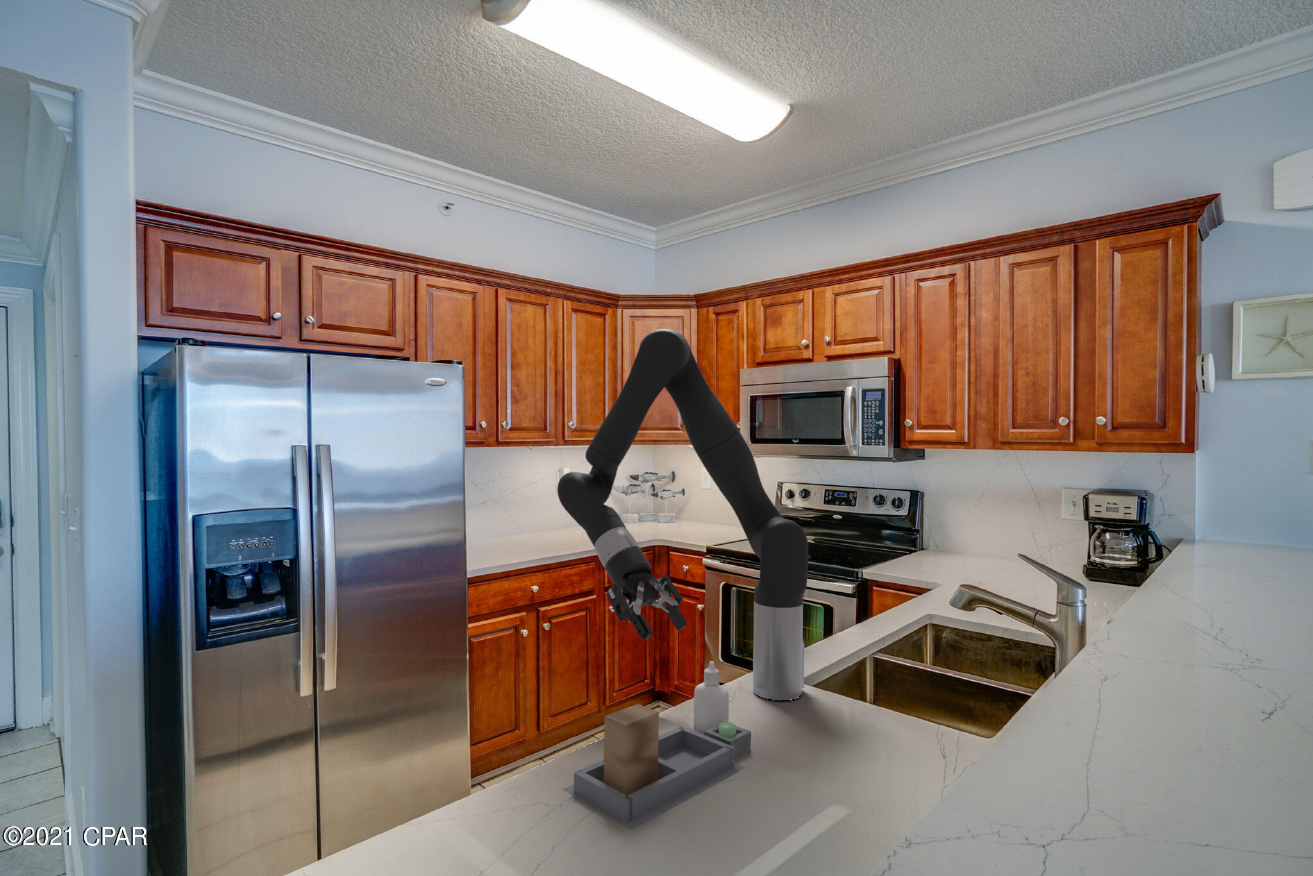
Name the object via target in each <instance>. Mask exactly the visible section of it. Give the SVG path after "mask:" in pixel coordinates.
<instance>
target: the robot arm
mask: <svg viewBox="0 0 1313 876" xmlns="http://www.w3.org/2000/svg"><path fill="white" fill-rule="evenodd" d="M664 389H665V390H666V391H667V393H668V394H669V396H670V397H671V399H672V401H673V402H674V404H675V406H676V407H677V411H678V412H679V415H680V418H681V420H682V423H683V426H684V430H685V431H686V434H687V437H688V439H689V441H690V444H691V445H692V448H693V450H694V452H695V453H696V455H697V457H698V458H699V460H700V462H701V463H702V465H703V467H704V469H705V470H706V471H707V473H708V474H709V476H710V477H711V479H712V481H713V482H714V484H715V485H716V486H717V488H718V490H719V491H720V493H721V494H722V495H723V497H724V498H725V499H726V501H727V502H728V503H729V505H730V507H731V508H732V510H733V512H734V513H735V515H736V517H737V519H738V521H739V523H740V526H741V528H742V529H743V532H744V534H745V536H746V540H747V541H748V543H749V545H750V547H751V549H752V551H753V553H754V554H755V555H756V557H758V559H760V560H759V561H760V563H759V564H760V565H759V579H758V580H759V581H758V583H757V584H756V585H755V587H754V590H753V650H752V651H753V652H752V653H753V654H752V657H753V660H752V661H753V662H752V667H753V668H752V671H753V672H752V675H753V676H752V692H753V693H754V694H755V696H757V695H758V696H757V697H759V696H760V698H762V697H763V698H762V699H765V698H766V699H765V700H768V699H772V700H771V701H775V700H781V701H780V702H783V701H782V700H790V699H795V698H797V697H799V696H800V695H801V694H803V691H802V688H804V689H805V641H804V639H803V637H804V635H803V634H804V633H803V632H804V631H803V630H804V627H803V626H804V622H803V621H804V619H803V618H804V617H803V615H804V594H805V592H806V589H807V586H808V574H809V573H808V569H809V542H808V538H807V535H806V532H805V530H804V529H803V527H801V525H799V524H798V523H797V522H795V521H792V520H789V519H786V518H784V516H783V515H782V514H781V513H780V512H779V510H778V509H777V508H776V506H775V505H774V503H773V502H772V500H771V498H770V497H769V495H768V494H767V492H766V491H765V488H764V486H763V484H762V480H761V477H760V473H759V470H758V467H757V464H756V461H755V458H754V455H753V453H752V451H751V449H750V447H749V445H748V443H747V442H746V439H745V438H744V436H743V435H742V433H741V432H740V430H739V427H737V425H736V423H735V422H734V421H733V419H732V418H731V416H730V414H729V413H728V411H727V410H726V408H725V407H724V405H723V404H722V403H721V401H720V400H719V398H718V397H717V396H716V395H715V393H714V392H713V390H712V389H711V388H710V386H709V384H708V383H707V381H706V378H704V375H703V373H702V371H701V369H700V366H699V365H698V363H697V360H696V359H695V356H694V354H693V352H692V349H691V347H690V344H689V342H688V340H687V339H686V337H685V336H684V335H683V334H682V333H680V332H679V331H678V330H675V329H670V328H660V329H659V328H658V329H655V330H652V331H651V332H649V333H647V334H646V335H645V336H644V337H643V338H642V340H641V342H640V344H639V348H638V351H637V354H636V355H635V359H634V361H633V364H632V367H631V369H630V372H629V375H628V377H627V379H626V381H625V383H624V385H623V387H622V389H621V391H620V394H619V395H618V397H617V399H616V400H615V402H614V404H613V405H612V407H611V408H610V410H609V412H608V413H607V415H606V417H605V418H604V420H603V422H602V423H601V424H600V426H599V428H598V430H597V431H596V432H595V435H594V437H593V438H592V440H591V442H590V444H589V445H588V447H587V449H586V452H585V459H586V461H587V463H588V464H589V465H590V466H592V467H591V469H590V472H589V473H585V472H584V473H583V472H578V471H570V472H567V473H565V474H563V475H562V476H561V477H560V479H559V480H558V483H557V490H556V491H557V496H558V497H557V498H558V499H559V503H560V504H561V506H562V508H563V509H564V510H565V512H566V513H568V514H569V516H570V517H571V518H572V519H573V520H574V521H575V522H576V523H577V524H578V525H579V526H580V528H582V529H583V530H584V532H585V534H586V535H587V538H589V540H590V542H591V544H592V545H593V547H594V550H595V552H596V555H597V556H598V559H599V561H600V563H601V565H602V566H603V568H604V570H605V572H606V574H607V576H608V577H609V579H610V580H611V582H612V584H613V585H612V586H611V587H610V588H609V589H608V590H607V592H606V597H607V598H608V601H609V603H610V605H611V607H612V609H613V611H614V613H615V614H616V617H617V619H618V620H619V621H620V622H624V621H627V622H629V623H631V624H632V626H633V628H634V630H635V631H636V633H637V635H638V636H639V637H640V638H641V639H642V640H643V641H646V640H649V638H650V637H651V636H652V635H653V631H652V629H651V627H650V625H649V623H648V621H647V620H646V618H645V616H644V614H641V611H642V608H644V607H645V606H653V607H655V608H657V609H662V610H663V611H664V612H666V613H667V616H668V617H669V619H670V621H671V622H672V624H673V626H674V628H675V629H676V631H677V632H680V631H682V630H683V629H684V628H685V627H686V626H687V620H686V617H684V615H683V613H682V611H681V609H680V608H679V605H680V604H681V603H682V602H683V601H684V598H683V597H682V595H681V594H680V592H679V591H678V589H677V588H676V586H675V584H673V582H672V580H671V578H670V577H669V576H668V575H667V574H664V575H662V577H660V578H656V577H655V576H653V574H652V565H651V564H650V561H649V560H648V559H647V557H646V555H645V554H644V552H643V550H642V548H641V547H640V546H639V543H638V542H637V540H636V539H635V537H634V536H633V535H632V533H631V532H630V531H629V530H628V529H627V527H626V525H625V524H624V522H623V519H621V516H620V515H619V513H618V512H617V511H616V510H615V509H614V508H613V507H611V506H609V505H606V504H605V503H606V502H607V501H608V500H609V497H610V495H611V494H612V493H611V492H612V490H613V486H614V483H615V480H616V477H617V473H618V468H619V466H620V465H621V464H622V462H623V460H624V458H625V457H626V455H627V454H628V452H629V450H630V448H631V446H632V445H633V443H634V441H635V440H636V437H637V435H638V433H639V431H640V429H641V427H642V425H643V422H644V420H645V418H646V416H647V414H648V412H649V410H650V409H651V407H652V405H653V403H654V402H655V401H656V400H657V398H658V396H659V394H660V393H661V392H662V391H663V390H664ZM659 596H661V597H660V598H659ZM673 597H674V598H673ZM801 696H802V695H801ZM795 700H796V699H795ZM790 701H791V700H790Z"/></svg>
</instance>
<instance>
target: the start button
mask: <svg viewBox="0 0 1313 876" xmlns="http://www.w3.org/2000/svg"><path fill="white" fill-rule="evenodd" d="M736 726H737V725H736V724H735V723H733V722H724V723H720V724H719V734H721V735H723V736H726V737H728V738H730V737H732V736H734V735H736Z"/></svg>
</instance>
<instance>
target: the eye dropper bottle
mask: <svg viewBox="0 0 1313 876" xmlns="http://www.w3.org/2000/svg"><path fill="white" fill-rule="evenodd" d="M703 672H704V673H703V682H702V683H699V684H698V685H696V686H695V688H694V694H693V731H696V732H698V733H701V734H703V735H704V731H705V730H707V729H710V728H712V727H714V726H716V725H718V724H720V723H723V722H729V720H730V719H729V718H730V716H729V715H730V709H729V708H730V694H729V692H728V689H726V688H725V687H724V686H722V685H721V684H720V670H719V669H718V668H716V666H715V662H714V661H713V660H712V661H709V663H708V666H707V668H705V669H704V670H703ZM729 723H730V722H729Z"/></svg>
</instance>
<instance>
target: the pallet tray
mask: <svg viewBox="0 0 1313 876" xmlns="http://www.w3.org/2000/svg"><path fill="white" fill-rule="evenodd" d="M743 769H745V767H744V766H743V765H740V764H738V763H736V762H735V757H734V747H733V746H730V745H728V744H725V743H723V742H720V741H718V740H715V739H713V738H711V737H708V736H706V735H703V734H701V733H698V732H696V731H694V729H691V728H689V727H686V726H683V725H681V726H679V727H676V728H675V729H672V730H669V731H668V732H665V733H662V734H661V735H659V736H658V781H656V782H654V783H652V784H650V785H648V786H646V787H644V788H642V789H640V790H638V791H636V792H634V793H632V794H630V795H628V796H626V795H624V794H623V793H621V792H619V791H617V790H615V789H614V788H612V787H610V786H608V785H606V784H605V783H604V759H603V760H599V761H598V762H596V763H593V764H591V765H589V766H586V767H584V768H582V769H579V770H577V771H574V772H573V784H572V785H569V786H568V787H565V788H563V790H564V791H565V792H567V793H569V794H570V795H572V796H573V797H576V798H577V799H578V800H581V801H582V802H584V803H585V804H587V805H588V806H591V807H592V808H594V809H596V810H597V811H599V812H601V813H602V814H604V815H606V816H607V817H609V818H610V819H612V820H614V821H616V822H617V823H619V824H621V825H622V826H624V827H625V828H627V829H629V830H631V831H633V830H635V829H637V828H638V827H640V826H642V825H644V824H646V823H647V822H650V821H651V820H653V819H655V818H657V817H658V816H660V815H662V814H664V813H666V812H667V811H670V810H671V809H673V808H675V807H677V806H679V805H680V804H682V803H684V802H685V801H687V800H689V799H691V798H693V797H694V796H697V795H699V794H700V793H702V792H703V791H704V792H705V791H706V790H707V789H709V788H711V787H712V786H715V785H716V784H718V783H720V782H722V781H724V780H725V779H727V778H730V777H731V776H733V775H734V774H736V773H739V772H740V771H742V770H743Z"/></svg>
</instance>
